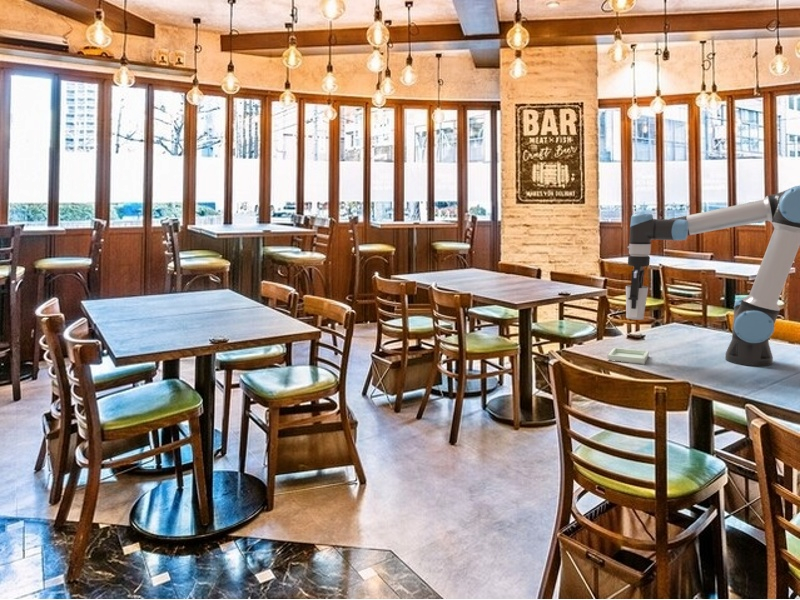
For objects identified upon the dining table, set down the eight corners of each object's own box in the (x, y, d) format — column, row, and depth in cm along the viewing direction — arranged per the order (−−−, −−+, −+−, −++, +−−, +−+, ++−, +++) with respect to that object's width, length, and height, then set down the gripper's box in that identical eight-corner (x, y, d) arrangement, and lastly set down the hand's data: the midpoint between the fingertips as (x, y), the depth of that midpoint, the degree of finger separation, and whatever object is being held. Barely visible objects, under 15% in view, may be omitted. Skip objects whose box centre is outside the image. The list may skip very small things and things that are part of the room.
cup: (648, 320, 215) (650, 288, 213) (625, 319, 217) (627, 287, 215) (643, 316, 223) (646, 285, 221) (622, 315, 224) (624, 285, 222)
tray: (648, 356, 224) (648, 350, 224) (644, 364, 213) (644, 358, 213) (613, 352, 230) (613, 347, 230) (607, 360, 219) (607, 354, 219)
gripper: (633, 252, 226) (629, 310, 230) (623, 256, 209) (619, 318, 213) (653, 253, 222) (649, 311, 226) (645, 257, 205) (641, 320, 209)
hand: (635, 315), depth 219 cm, fingers closed on cup, 7 cm apart
